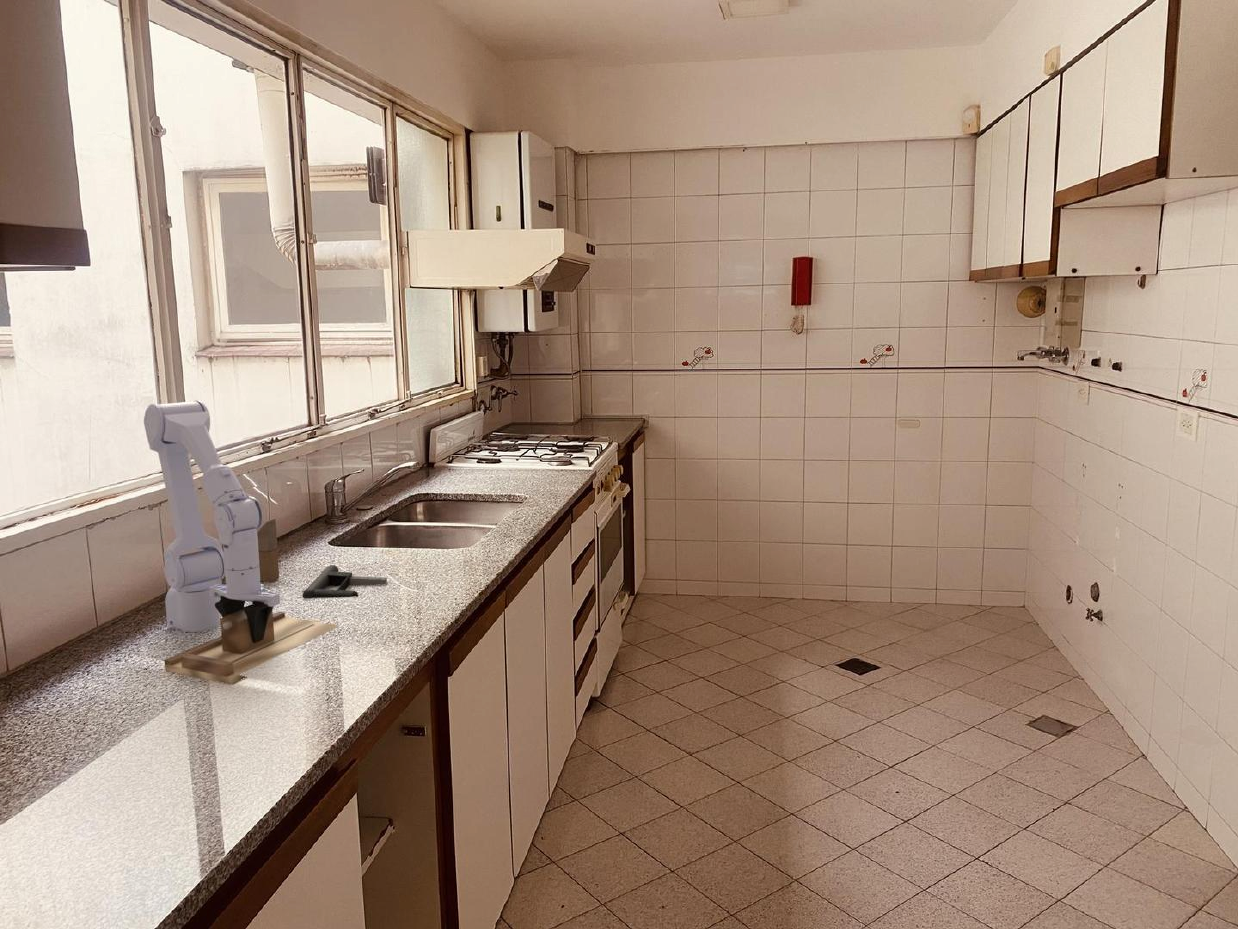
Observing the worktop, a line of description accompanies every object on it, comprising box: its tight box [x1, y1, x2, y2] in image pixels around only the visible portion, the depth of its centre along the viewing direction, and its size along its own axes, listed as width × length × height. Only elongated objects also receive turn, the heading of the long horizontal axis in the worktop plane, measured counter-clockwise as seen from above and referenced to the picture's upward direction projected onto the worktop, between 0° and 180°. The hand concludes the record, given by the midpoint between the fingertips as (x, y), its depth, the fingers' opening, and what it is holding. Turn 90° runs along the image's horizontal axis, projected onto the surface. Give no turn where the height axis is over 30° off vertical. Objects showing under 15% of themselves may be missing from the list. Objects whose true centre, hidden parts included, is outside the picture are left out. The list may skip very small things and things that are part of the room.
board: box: [164, 611, 340, 685], centre depth 166 cm, size 15×27×3 cm, turn 157°
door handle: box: [302, 564, 388, 599], centre depth 202 cm, size 3×20×16 cm
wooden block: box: [257, 518, 280, 583], centre depth 208 cm, size 4×11×18 cm, turn 79°
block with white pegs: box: [219, 609, 274, 654], centre depth 165 cm, size 4×10×6 cm, turn 158°
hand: (247, 639), depth 165 cm, fingers closed on block with white pegs, 4 cm apart
